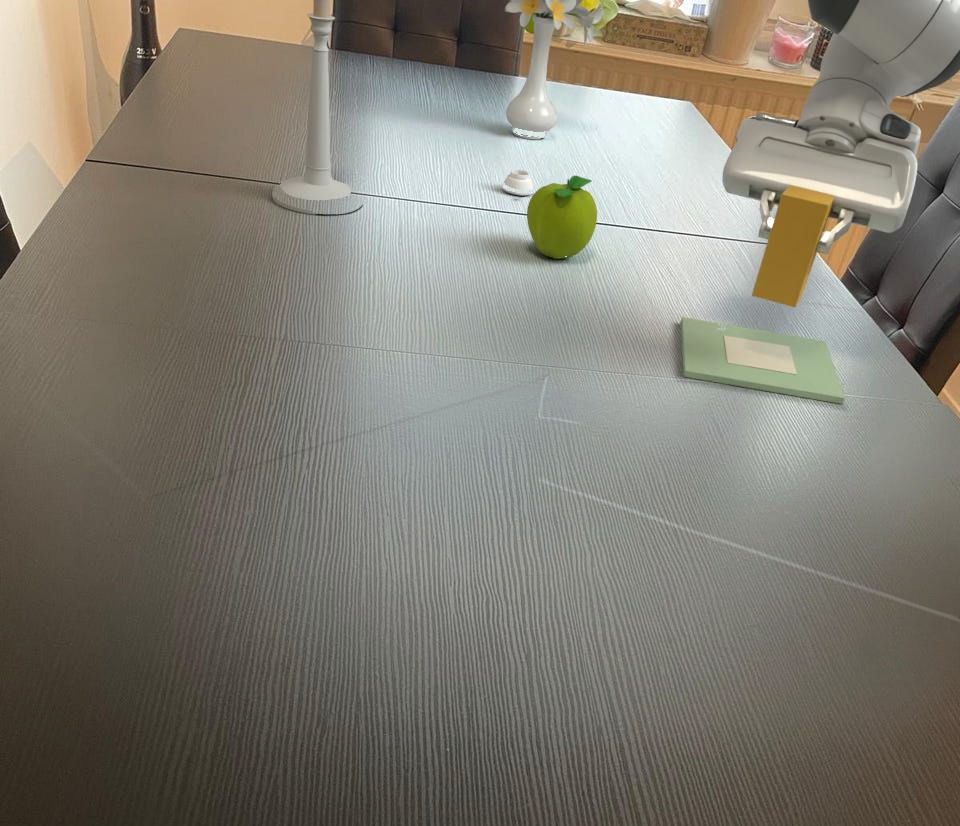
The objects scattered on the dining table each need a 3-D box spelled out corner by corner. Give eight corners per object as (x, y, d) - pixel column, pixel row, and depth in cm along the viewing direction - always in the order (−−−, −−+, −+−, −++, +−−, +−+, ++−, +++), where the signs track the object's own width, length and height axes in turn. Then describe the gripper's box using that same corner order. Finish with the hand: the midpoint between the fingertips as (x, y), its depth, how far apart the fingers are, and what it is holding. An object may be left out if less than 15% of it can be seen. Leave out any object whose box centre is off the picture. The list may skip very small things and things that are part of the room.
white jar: (538, 192, 162) (509, 185, 163) (541, 173, 160) (512, 165, 161) (525, 199, 158) (496, 191, 160) (528, 179, 156) (499, 171, 158)
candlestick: (254, 191, 145) (249, -61, 126) (327, 182, 153) (333, -58, 134) (306, 220, 139) (309, -42, 120) (380, 209, 146) (394, -39, 127)
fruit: (600, 257, 142) (615, 181, 136) (567, 273, 136) (581, 194, 129) (544, 238, 145) (556, 163, 139) (509, 252, 139) (520, 175, 132)
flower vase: (579, 152, 184) (607, -10, 168) (479, 135, 184) (497, -28, 169) (583, 135, 194) (609, -19, 178) (487, 119, 194) (506, -36, 179)
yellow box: (760, 282, 118) (790, 183, 111) (802, 294, 117) (835, 194, 110) (751, 295, 114) (781, 193, 107) (795, 307, 113) (828, 205, 106)
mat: (823, 347, 126) (826, 340, 126) (842, 404, 114) (845, 397, 113) (680, 322, 127) (682, 315, 126) (683, 377, 114) (685, 369, 114)
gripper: (747, 90, 112) (702, 203, 111) (937, 132, 107) (891, 251, 106) (744, 127, 118) (701, 235, 117) (923, 169, 113) (880, 281, 112)
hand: (793, 243), depth 111 cm, fingers closed on yellow box, 5 cm apart
